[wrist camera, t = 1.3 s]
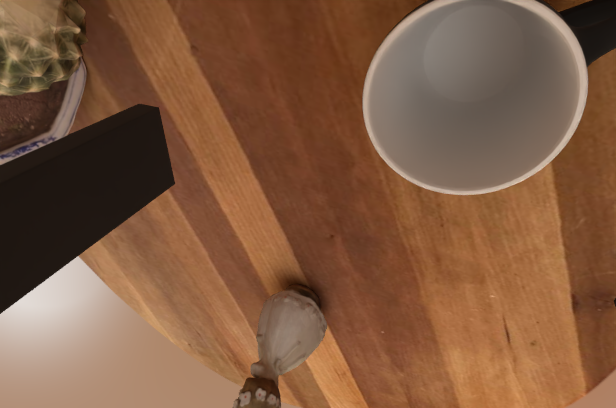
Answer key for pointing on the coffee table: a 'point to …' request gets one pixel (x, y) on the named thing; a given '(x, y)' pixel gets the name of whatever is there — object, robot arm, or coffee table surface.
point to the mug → (482, 89)
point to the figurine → (282, 343)
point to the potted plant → (39, 72)
